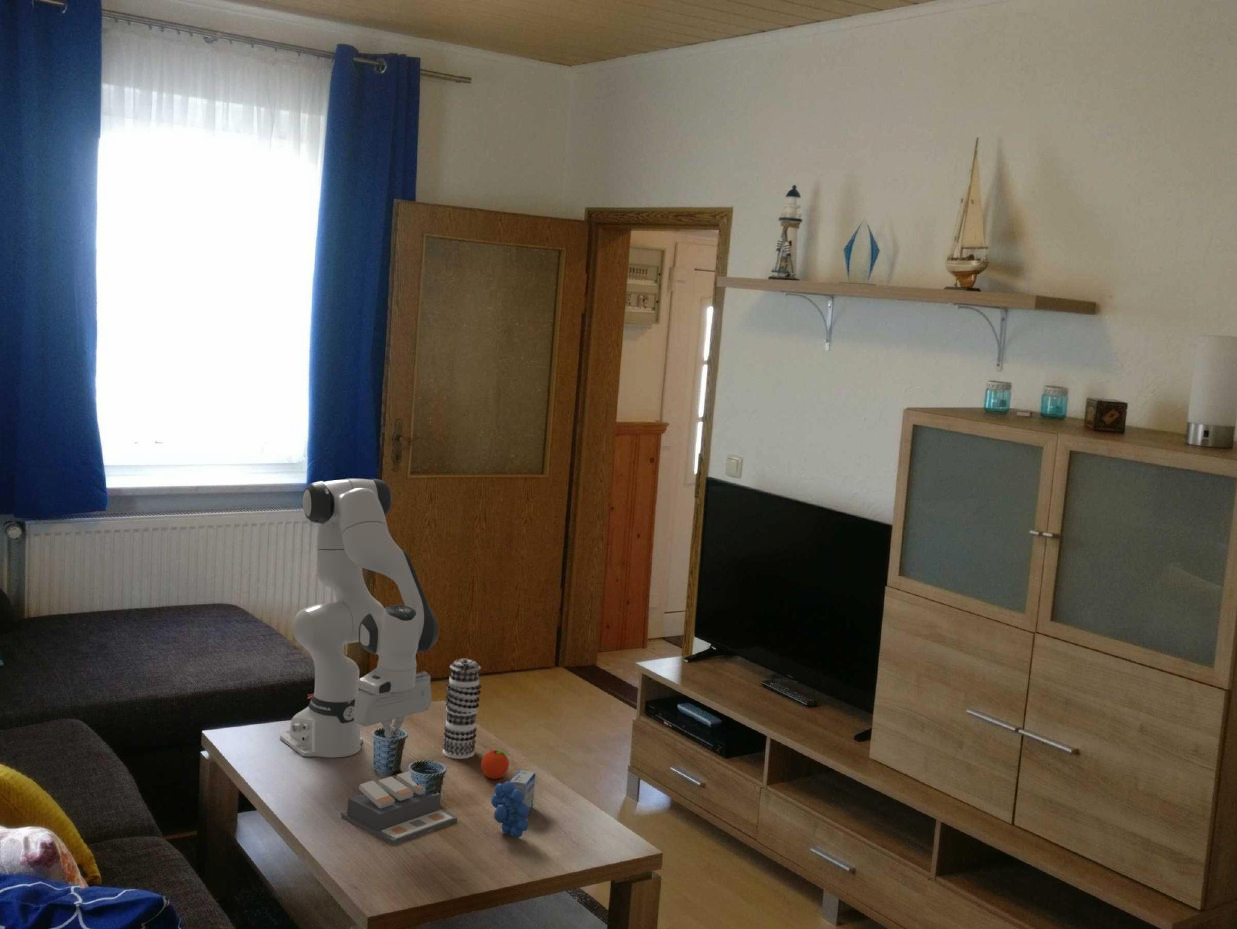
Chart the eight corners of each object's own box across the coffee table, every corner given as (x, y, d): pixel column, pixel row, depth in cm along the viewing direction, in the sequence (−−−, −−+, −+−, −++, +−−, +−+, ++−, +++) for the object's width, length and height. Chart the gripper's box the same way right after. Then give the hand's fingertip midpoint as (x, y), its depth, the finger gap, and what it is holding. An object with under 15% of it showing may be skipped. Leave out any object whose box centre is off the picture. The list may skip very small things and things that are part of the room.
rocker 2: (377, 785, 278) (378, 779, 278) (390, 781, 281) (391, 775, 281) (400, 800, 274) (401, 795, 273) (412, 796, 277) (413, 791, 276)
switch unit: (340, 817, 275) (342, 796, 275) (405, 796, 290) (406, 776, 289) (392, 844, 264) (394, 823, 263) (457, 821, 279) (458, 800, 278)
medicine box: (524, 819, 283) (527, 784, 282) (505, 816, 284) (508, 780, 283) (533, 806, 291) (536, 772, 290) (515, 803, 292) (518, 769, 291)
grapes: (476, 830, 275) (480, 779, 274) (498, 822, 280) (502, 772, 279) (512, 848, 268) (516, 796, 266) (533, 840, 273) (538, 789, 271)
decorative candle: (453, 761, 314) (461, 668, 311) (434, 750, 321) (441, 658, 318) (482, 755, 320) (490, 664, 317) (463, 744, 327) (470, 654, 324)
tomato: (508, 771, 311) (510, 745, 310) (514, 782, 305) (516, 755, 304) (477, 772, 309) (479, 746, 308) (483, 783, 302) (485, 756, 301)
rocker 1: (358, 788, 274) (360, 783, 274) (372, 784, 277) (373, 779, 277) (380, 808, 270) (381, 803, 269) (393, 804, 273) (394, 799, 272)
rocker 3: (396, 779, 283) (397, 774, 282) (408, 775, 286) (409, 770, 285) (418, 794, 278) (419, 789, 278) (431, 790, 281) (432, 785, 281)
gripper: (421, 666, 286) (417, 722, 288) (351, 681, 270) (347, 741, 272) (439, 673, 282) (435, 730, 284) (369, 689, 266) (365, 749, 268)
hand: (391, 736), depth 278 cm, fingers closed
